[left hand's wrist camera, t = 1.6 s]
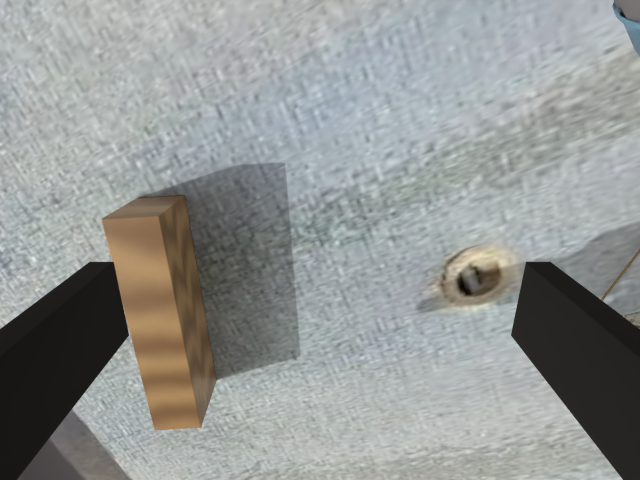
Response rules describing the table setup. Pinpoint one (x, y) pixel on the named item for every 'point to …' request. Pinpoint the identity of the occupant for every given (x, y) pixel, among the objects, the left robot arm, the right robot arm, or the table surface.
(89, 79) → the table surface
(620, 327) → the left robot arm
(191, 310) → the bar
